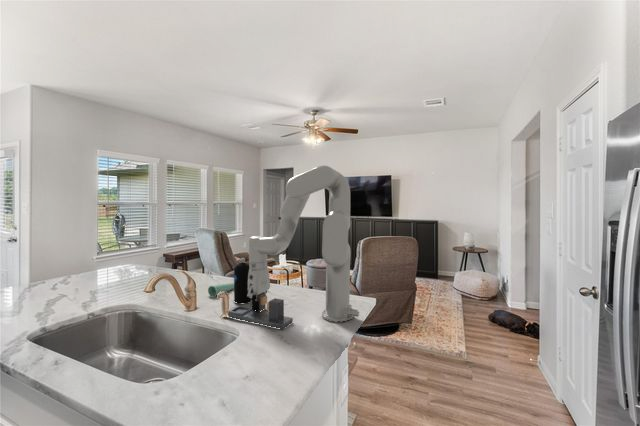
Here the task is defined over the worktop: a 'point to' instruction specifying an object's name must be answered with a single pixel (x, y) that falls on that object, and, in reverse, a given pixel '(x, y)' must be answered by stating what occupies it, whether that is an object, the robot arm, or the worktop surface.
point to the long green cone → (219, 288)
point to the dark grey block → (262, 301)
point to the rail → (263, 314)
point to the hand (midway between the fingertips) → (258, 307)
